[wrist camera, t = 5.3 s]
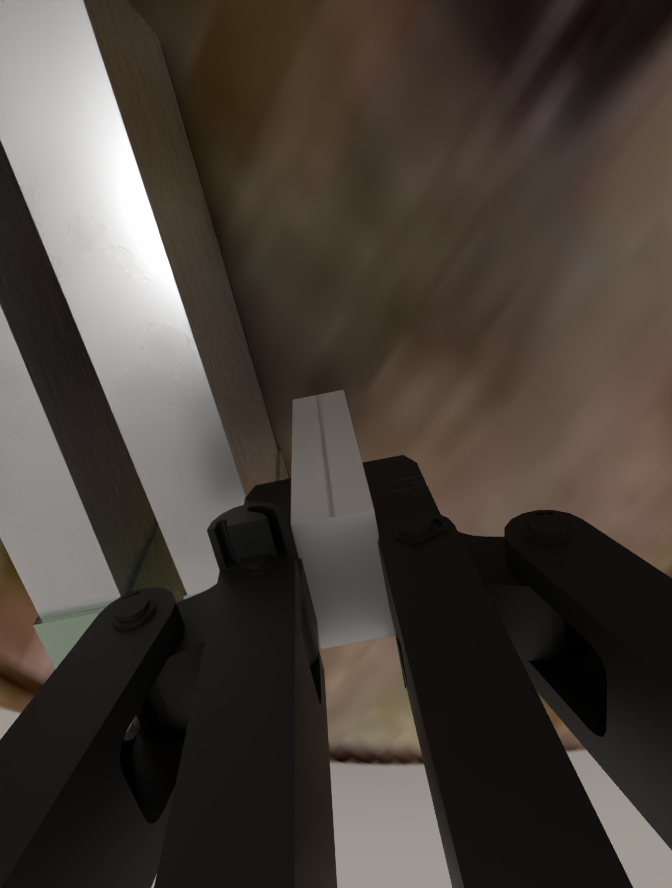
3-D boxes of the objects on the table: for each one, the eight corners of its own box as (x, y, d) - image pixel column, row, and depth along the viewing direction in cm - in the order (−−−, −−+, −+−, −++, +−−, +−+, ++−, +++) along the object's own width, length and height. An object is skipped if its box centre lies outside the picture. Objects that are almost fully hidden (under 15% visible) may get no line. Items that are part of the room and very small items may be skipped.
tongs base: (-148, -116, 13) (-767, -553, 5) (21, -149, 13) (-360, -629, 5) (137, 599, 22) (53, 822, 14) (239, 580, 22) (211, 792, 14)
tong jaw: (79, 56, 15) (-85, -48, 8) (162, 36, 15) (62, -86, 8) (257, 579, 22) (243, 741, 15) (314, 566, 22) (324, 724, 15)
